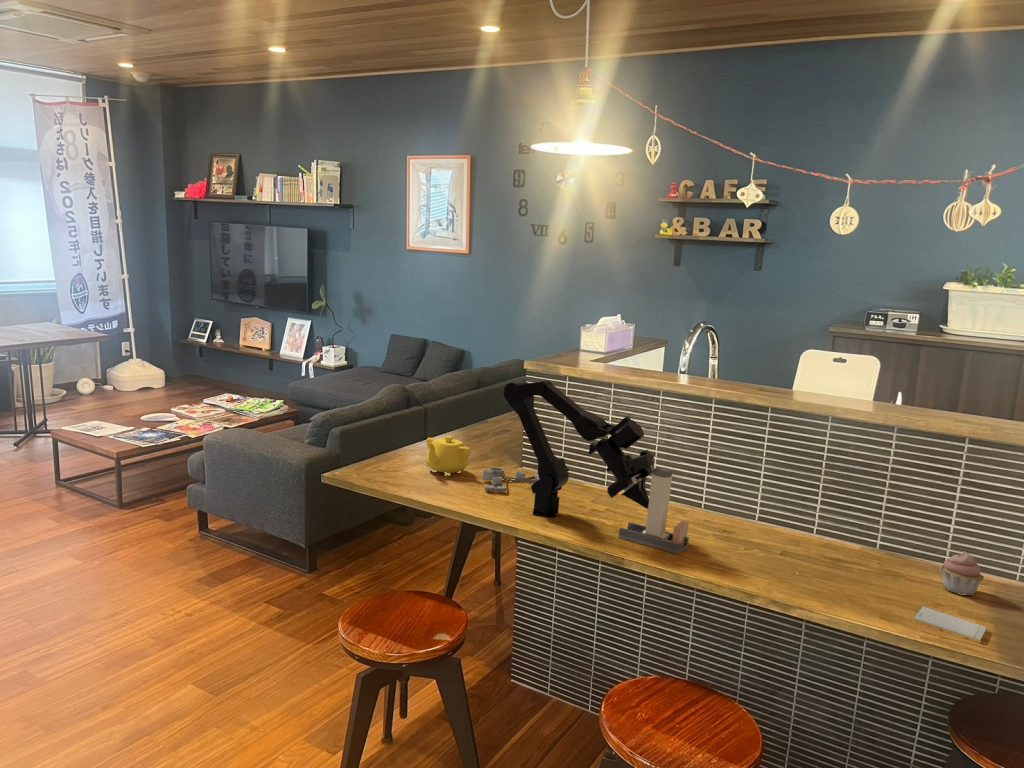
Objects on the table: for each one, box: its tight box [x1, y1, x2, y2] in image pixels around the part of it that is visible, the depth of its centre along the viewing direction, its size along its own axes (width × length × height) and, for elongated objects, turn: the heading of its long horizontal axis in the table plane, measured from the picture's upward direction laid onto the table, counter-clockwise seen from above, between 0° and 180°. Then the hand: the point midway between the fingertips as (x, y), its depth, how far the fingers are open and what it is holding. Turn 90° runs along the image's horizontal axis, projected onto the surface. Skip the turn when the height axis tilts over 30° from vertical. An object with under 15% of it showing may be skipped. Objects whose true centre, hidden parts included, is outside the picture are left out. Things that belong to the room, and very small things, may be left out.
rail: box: [617, 520, 690, 555], centre depth 195 cm, size 16×7×6 cm, turn 59°
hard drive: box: [913, 606, 988, 642], centre depth 160 cm, size 2×8×12 cm
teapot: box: [425, 435, 471, 474], centre depth 243 cm, size 14×14×12 cm
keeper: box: [642, 467, 673, 540], centre depth 194 cm, size 6×5×18 cm
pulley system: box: [481, 467, 539, 493], centre depth 238 cm, size 27×5×15 cm
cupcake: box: [939, 550, 985, 595], centre depth 179 cm, size 9×9×10 cm
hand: (649, 507), depth 195 cm, fingers closed, pressing on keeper
